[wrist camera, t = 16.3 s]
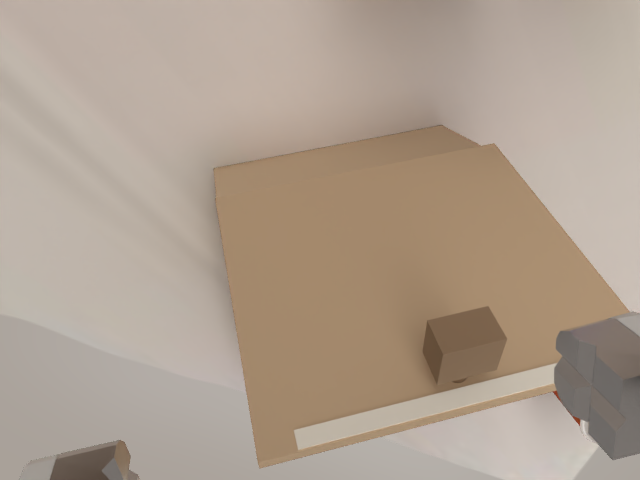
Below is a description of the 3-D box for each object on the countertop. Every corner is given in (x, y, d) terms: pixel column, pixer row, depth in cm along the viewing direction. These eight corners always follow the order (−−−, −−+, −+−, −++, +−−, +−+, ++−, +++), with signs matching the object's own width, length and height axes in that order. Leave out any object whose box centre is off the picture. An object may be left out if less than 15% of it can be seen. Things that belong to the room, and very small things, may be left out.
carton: (254, 346, 58) (264, 410, 49) (213, 168, 49) (217, 206, 40) (448, 301, 61) (491, 353, 52) (442, 125, 52) (492, 151, 43)
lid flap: (259, 468, 27) (245, 425, 23) (217, 205, 40) (203, 154, 37) (660, 363, 29) (699, 311, 26) (492, 150, 43) (503, 98, 40)
